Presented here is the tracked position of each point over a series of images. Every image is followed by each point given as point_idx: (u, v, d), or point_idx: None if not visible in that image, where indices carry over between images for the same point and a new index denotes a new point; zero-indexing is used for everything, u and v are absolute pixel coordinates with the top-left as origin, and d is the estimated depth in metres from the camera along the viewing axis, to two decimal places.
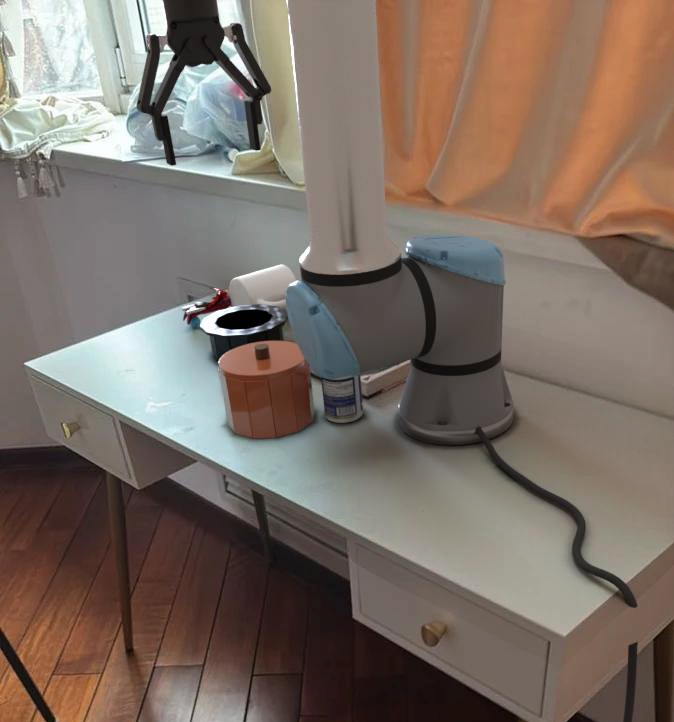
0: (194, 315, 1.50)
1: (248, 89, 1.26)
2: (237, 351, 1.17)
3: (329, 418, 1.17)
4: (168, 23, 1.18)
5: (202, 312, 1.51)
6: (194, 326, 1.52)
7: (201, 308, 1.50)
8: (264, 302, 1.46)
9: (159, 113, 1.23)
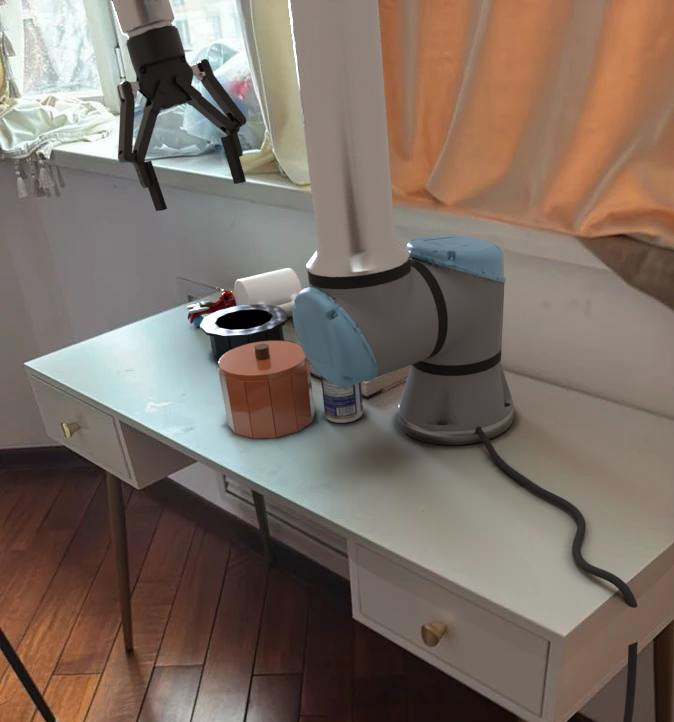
0: (197, 314, 1.50)
1: (224, 122, 1.24)
2: (237, 351, 1.17)
3: (329, 418, 1.17)
4: (137, 69, 1.17)
5: (206, 312, 1.51)
6: (197, 325, 1.52)
7: (204, 308, 1.50)
8: None
9: (142, 159, 1.20)
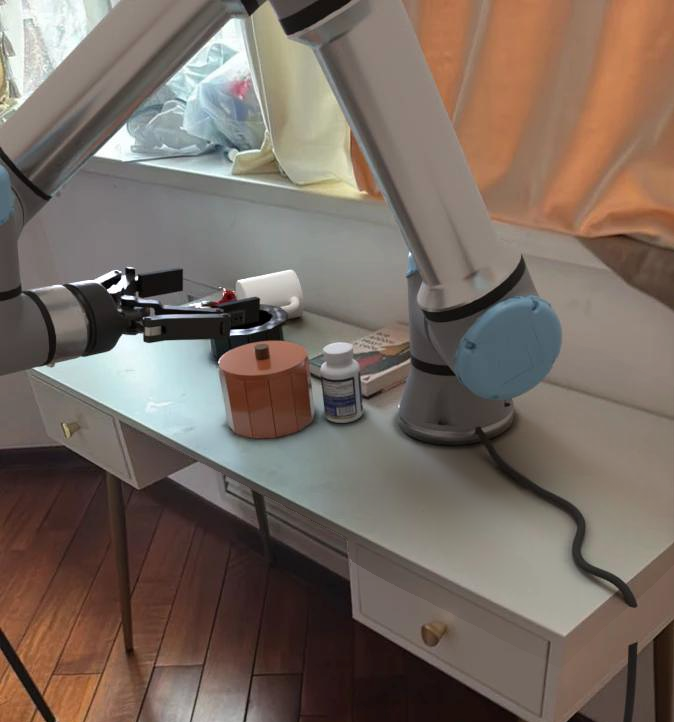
0: None
1: (130, 278, 1.01)
2: (237, 351, 1.17)
3: (329, 418, 1.17)
4: (121, 321, 0.91)
5: None
6: None
7: (205, 307, 1.50)
8: None
9: None
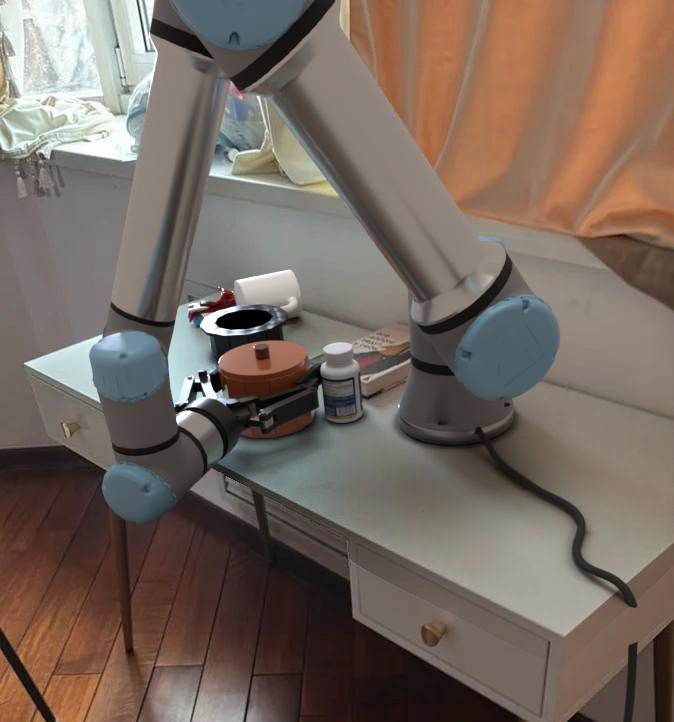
0: (196, 313, 1.51)
1: (206, 380, 1.14)
2: (237, 351, 1.17)
3: (329, 418, 1.17)
4: (239, 423, 1.04)
5: (206, 311, 1.52)
6: (197, 324, 1.52)
7: (204, 307, 1.50)
8: None
9: (301, 384, 1.10)
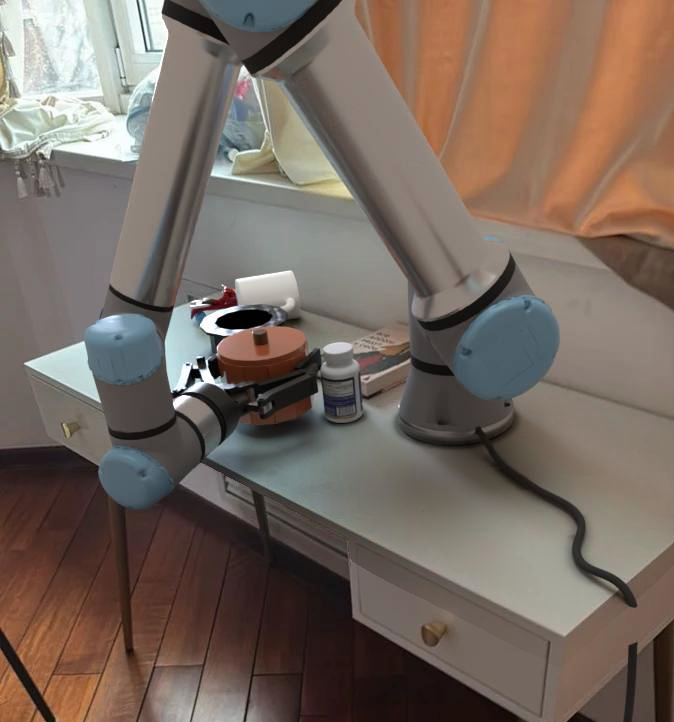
0: (197, 311, 1.52)
1: (205, 366, 1.13)
2: (235, 337, 1.16)
3: (329, 418, 1.17)
4: (237, 408, 1.03)
5: (208, 308, 1.52)
6: (199, 321, 1.53)
7: (205, 305, 1.51)
8: None
9: (300, 369, 1.09)
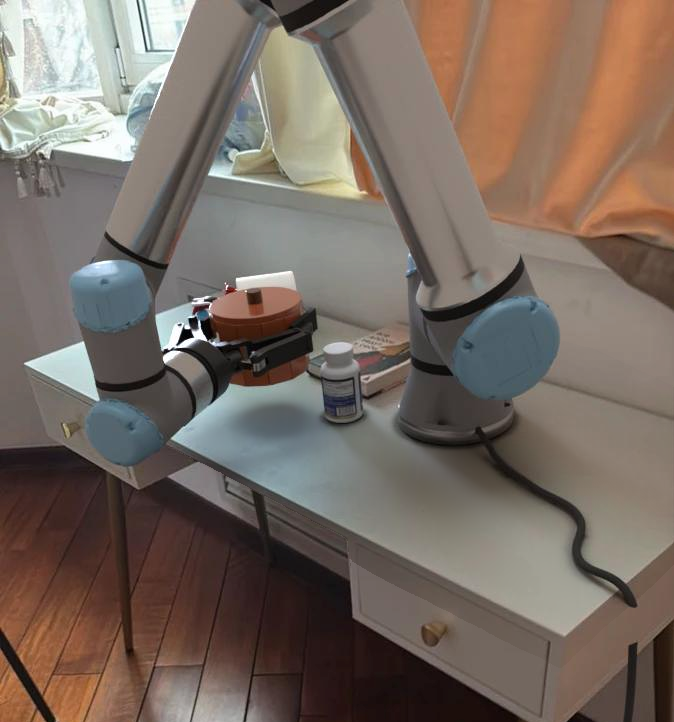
0: (199, 308, 1.53)
1: (197, 326, 1.10)
2: (229, 297, 1.12)
3: (329, 418, 1.17)
4: (230, 365, 1.00)
5: (209, 306, 1.53)
6: (200, 319, 1.54)
7: (206, 302, 1.52)
8: None
9: (295, 328, 1.06)
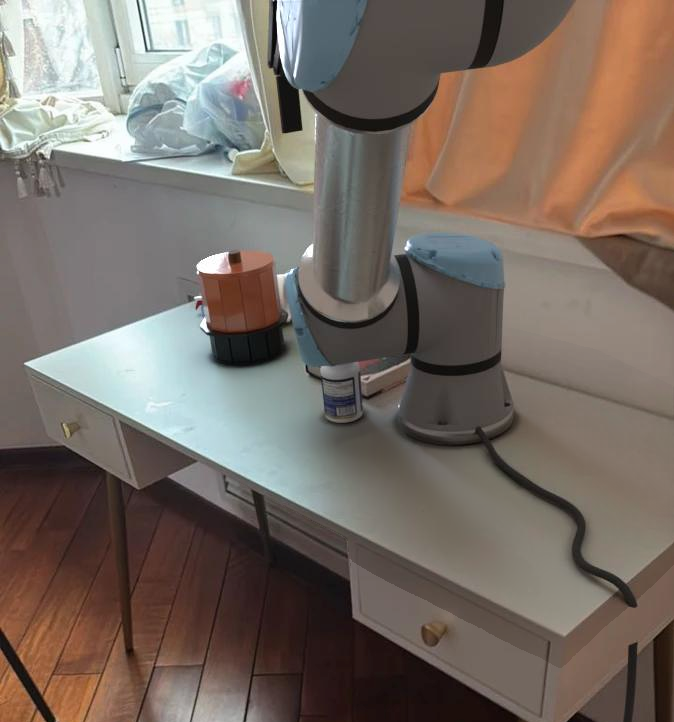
0: (201, 302, 1.55)
1: None
2: (213, 258, 1.34)
3: (329, 418, 1.17)
4: None
5: None
6: None
7: None
8: None
9: (275, 72, 1.10)
